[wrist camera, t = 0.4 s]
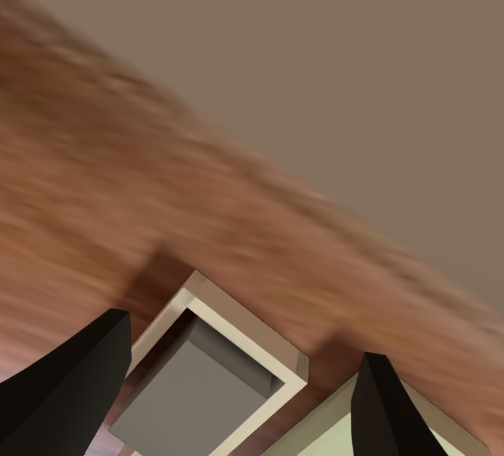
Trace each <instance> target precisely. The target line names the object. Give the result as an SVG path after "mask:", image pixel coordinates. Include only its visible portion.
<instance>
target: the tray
mask: <svg viewBox="0 0 504 456" xmlns="http://www.w3.org/2000/svg"><path fill="white" fill-rule="evenodd" d="M358 374H359V372H358V373H356V374H355V375H354V376H353V377H352V378H350V379H349V380H348V381H347V382H346V383H345V384H343V385H342V386H341V387H340V388H339V389H338V390H336V391H335V392H334V393H333V394H332V395H330V396H329V397H328V398H327V399H326V400H325V401H323V402H322V403H321V404H320V405H319V406H318V407H316V408H315V409H314V410H313V411H312V412H310V413H309V414H308V415H307V416H306V417H305V418H303V419H302V420H301V421H300V422H299V423H298V424H296V425H295V426H294V427H293V428H292V429H290V430H289V431H288V432H287V433H286V434H285V435H283V436H282V437H281V438H280V439H279V440H278V441H276V442H275V443H274V444H273V445H272V446H270V447H269V448H268V449H267V450H266V451H265V452H263V453H262V454H261V455H260V456H354V455H353V447H352V438H351V398H352V394H353V391H354V387H355V384H356V381H357V377H358ZM399 379H400V381H401V383H402V384H403V386H404V388H405V390H406V391H407V393H408V395H409V397H410V398H411V400H412V402H413V403H414V405H415V406H416V408H417V410H418V411H419V413H420V414H421V416H422V418H423V419H424V421H425V422H426V424H427V425H428V427H429V428H430V430H431V431H432V433H433V434H434V436H435V437H436V439H437V440H438V441H439V443H440V444H441V446H442V447H443V449H444V450H445V451H446V453H447V454H448V455H449V456H492V454H491V452H490V449H488V448H487V447H486V446H485V445H483V444H482V443H481V442H480V441H478V440H477V439H476V438H475V437H473V436H472V435H471V434H470V433H468V432H467V431H466V430H465V429H463V428H462V427H461V426H460V425H458V424H457V423H456V422H455V421H453V420H452V419H451V418H450V417H448V416H447V415H446V414H444V413H443V412H442V411H441V410H439V409H438V408H437V407H436V406H434V405H433V404H432V403H431V402H429V401H428V400H427V399H426V398H424V397H423V396H422V395H421V394H419V393H418V392H417V391H416V390H414V389H413V388H412V387H411V386H409V385H408V384H407V383H406V382H404V381H403V380H402V379H401V378H399Z"/></svg>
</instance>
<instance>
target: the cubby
mask: <svg viewBox="0 0 504 456" xmlns="http://www.w3.org/2000/svg"><path fill="white" fill-rule="evenodd" d="M187 307H188V308H189V309H190V310H191V311H193V312H194V313H195V314H197V315H198V316H199V317H201V318H202V319H203V320H204V321H206V322H207V323H208V324H210V325H211V326H212V327H213V328H215V329H216V330H217V331H219V332H220V333H221V334H223V335H224V336H225V337H226V338H228V339H229V340H230V341H232V342H233V343H234V344H235V345H237V346H238V347H239V348H241V349H242V350H243V351H245V352H246V353H247V354H248V355H250V356H251V357H252V358H254V359H255V360H256V361H257V362H259V363H260V364H261V365H263V366H264V367H265V368H267V369H268V370H269V371H270V372H272V373H273V374H272V379H271V385H270V390H269V396H268V400H267V401H266V402H265V403H264V404H263V405H262V406H261V407H260V408H259V409H258V410H257V411H256V412H255V413H254V414H252V415H251V416H250V417H249V418H248V419H247V420H246V421H245V422H244V423H243V424H242V425H241V426H240V427H239V428H238V429H236V430H235V431H234V432H233V433H232V434H231V435H230V436H229V437H228V438H227V439H226V440H225V441H224V442H223V443H222V444H220V445H219V446H218V447H217V448H216V449H215V450H214V451H213V452H212V453H211V454H210V455H209V456H227V455H228V454H229V453H230V452H231V451H232V450H233V449H235V448H236V447H237V446H238V445H239V444H240V443H241V442H242V441H244V440H245V439H246V438H247V437H248V436H249V435H250V434H251V433H253V432H254V431H255V430H256V429H257V428H258V427H259V426H260V425H262V424H263V423H264V422H265V421H266V420H267V419H268V418H269V417H271V416H272V415H273V414H274V413H275V412H276V411H277V410H278V409H280V408H281V407H282V406H283V405H284V404H285V403H286V402H287V401H289V400H290V399H291V398H292V397H293V396H294V395H295V394H296V393H298V392H299V391H300V390H301V389H302V388H303V387H304V386H305V385H307V384H308V368H309V358H308V357H307V356H306V355H305V354H303V353H302V352H301V351H299V350H298V349H297V348H296V347H294V346H293V345H292V344H291V343H289V342H288V341H287V340H285V339H284V338H283V337H282V336H280V335H279V334H278V333H276V332H275V331H274V330H273V329H271V328H270V327H269V326H268V325H266V324H265V323H264V322H262V321H261V320H260V319H259V318H257V317H256V316H255V315H253V314H252V313H251V312H250V311H248V310H247V309H246V308H245V307H243V306H242V305H241V304H239V303H238V302H237V301H236V300H234V299H233V298H232V297H231V296H229V295H228V294H227V293H225V292H224V291H223V290H222V289H220V288H219V287H218V286H216V285H215V284H214V283H213V282H211V281H210V280H209V279H208V278H206V277H205V276H204V275H202V274H201V273H200V272H199V271H197V270H196V269H195V271H194V272H193V273H192V274H191V275H190V277H189V278H188V279H187V280H186V281H185V283H184V284H183V285H182V286H181V287H180V289H179V290H178V291H177V292H176V293H175V295H174V296H173V297H172V298H171V299H170V301H169V302H168V303H167V304H166V305H165V307H164V308H163V309H162V310H161V311H160V313H159V314H158V315H157V316H156V317H155V319H154V320H153V321H152V322H151V323H150V325H149V326H148V327H147V328H146V329H145V330H144V332H143V333H142V334H141V335H140V336H139V338H138V339H137V340H136V341H135V342H134V344H133V345H132V346H131V351H132V362H131V364H130V367H129V369H128V372H127V375H126V377H127V376H128V375H129V374H130V373H131V371H132V370H133V369H134V368H135V367H136V366H137V364H138V363H139V362H140V361H141V360H142V359H143V358H144V356H145V355H146V354H147V353H148V352H149V351H150V349H151V348H152V347H153V346H154V345H155V344H156V342H157V341H158V340H159V339H160V338H161V337H162V336H163V334H164V333H165V332H166V331H167V330H168V329H169V327H170V326H171V325H172V324H173V323H174V322H175V320H176V319H177V318H178V317H179V316H180V315H181V314H182V312H183V311H184V310H185V309H186V308H187ZM126 377H125V378H126ZM124 380H125V379H124Z"/></svg>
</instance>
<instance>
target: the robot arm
mask: <svg viewBox="0 0 504 456" xmlns="http://www.w3.org/2000/svg"><path fill="white" fill-rule="evenodd" d="M131 362H132V351H131V326H130V311H125V310H119V309H113V308H111V309H109V310H108V311H106V312H105V313H104V314H102V315H101V316H99V317H98V318H97V319H95V320H94V321H93V322H91V323H90V324H89V325H87V326H86V327H85V328H83V329H82V330H81V331H79V332H78V333H77V334H75V335H74V336H73V337H71V338H70V339H68V340H67V341H66V342H64V343H63V344H61V345H60V346H59V347H57V348H56V349H54V350H53V351H51V352H50V353H49V354H47V355H46V356H44V357H42V358H41V359H39V360H38V361H36V362H35V363H33V364H32V365H30V366H29V367H27V368H26V369H24V370H22V371H21V372H19V373H17V374H16V375H14V376H12V377H10V378H9V379H7V380H5V381H3V382H1V383H0V456H84V454H85V452H86V450H87V449H88V447H89V445H90V443H91V442H92V440H93V438H94V436H95V434H96V433H97V431H98V429H99V427H100V426H101V424H102V422H103V420H104V418H105V417H106V415H107V413H108V411H109V410H110V408H111V406H112V404H113V402H114V400H115V399H116V397H117V395H118V393H119V391H120V389H121V387H122V384H123V382H124V379H125V377H126V375H127V372H128V369H129V367H130V364H131ZM351 438H352V447H353V455H354V456H449V455H448V454H447V453H446V451H445V450H444V449H443V447H442V446H441V444H440V443H439V441H438V440H437V439H436V437H435V436H434V434H433V433H432V431H431V430H430V428H429V427H428V425H427V424H426V422H425V421H424V419H423V418H422V416H421V414H420V413H419V411H418V410H417V408H416V406H415V405H414V403H413V402H412V400H411V398H410V397H409V395H408V393H407V391H406V390H405V388H404V386H403V384H402V383H401V381H400V379H399V377H398V376H397V374H396V372H395V370H394V368H393V366H392V365H391V363H390V361H389V359H388V358H387V356H386V355H382V354H376V353H370V352H365V353H364V356H363V360H362V363H361V367H360V370H359V374H358V377H357V381H356V384H355V387H354V391H353V394H352V398H351Z"/></svg>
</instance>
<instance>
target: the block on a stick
mask: <svg viewBox="0 0 504 456" xmlns="http://www.w3.org/2000/svg"><path fill="white" fill-rule="evenodd" d="M272 374H273V373H272V372H270V371H269V370H268V369H267V368H265V367H264V366H263V365H261V364H260V363H259V362H257V361H256V360H255V359H254V358H252V357H251V356H250V355H248V354H247V353H246V352H245V351H243V350H242V349H241V348H239V347H238V346H237V345H235V344H234V343H233V342H232V341H230V340H229V339H228V338H226V337H225V336H224V335H223V334H221V333H220V332H219V331H217V330H216V329H215V328H213V327H212V326H211V325H210V324H208V323H207V322H206V321H204V320H203V319H202V318H201V317H199V316H198V315H197V314H196V316H195V317H194V318H193V319H192V320H191V321H190V323H189V324H188V325H187V326H186V327H185V328H184V330H183V331H182V332H181V333H180V334H179V335H178V337H177V338H176V339H175V340H174V341H173V342H172V344H171V345H170V346H169V347H168V348H167V349H166V350H165V352H164V353H163V354H162V355H161V356H160V357H159V359H158V360H157V361H156V362H155V363H154V364H153V366H152V367H151V368H150V369H149V370H148V371H147V373H146V374H145V375H144V376H143V377H142V378H141V380H140V381H139V382H138V383H137V384H136V386H135V387H134V389H133V390H132V392H131V394H130V395H129V397H128V399H127V400H126V402H125V403H124V405H123V407H122V408H121V410H120V412H119V413H118V415H117V416H116V418H115V420H114V421H113V423H112V425H111V426H110V428H109V429H108V431H109V432H110V433H111V434H113V435H114V436H116V437H117V438H118V439H120V440H121V441H123V442H124V443H125V445H124V446H123V448H122V450H121V451H120V453H119V455H118V456H209V455H210V454H211V453H212V452H213V451H214V450H215V449H216V448H217V447H218V446H219V445H220V444H222V443H223V442H224V441H225V440H226V439H227V438H228V437H229V436H230V435H231V434H232V433H233V432H234V431H235V430H236V429H238V428H239V427H240V426H241V425H242V424H243V423H244V422H245V421H246V420H247V419H248V418H249V417H250V416H251V415H252V414H254V413H255V412H256V411H257V410H258V409H259V408H260V407H261V406H262V405H263V404H264V403H265V402H266V401H267V400H268V396H269V390H270V385H271V379H272Z"/></svg>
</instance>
